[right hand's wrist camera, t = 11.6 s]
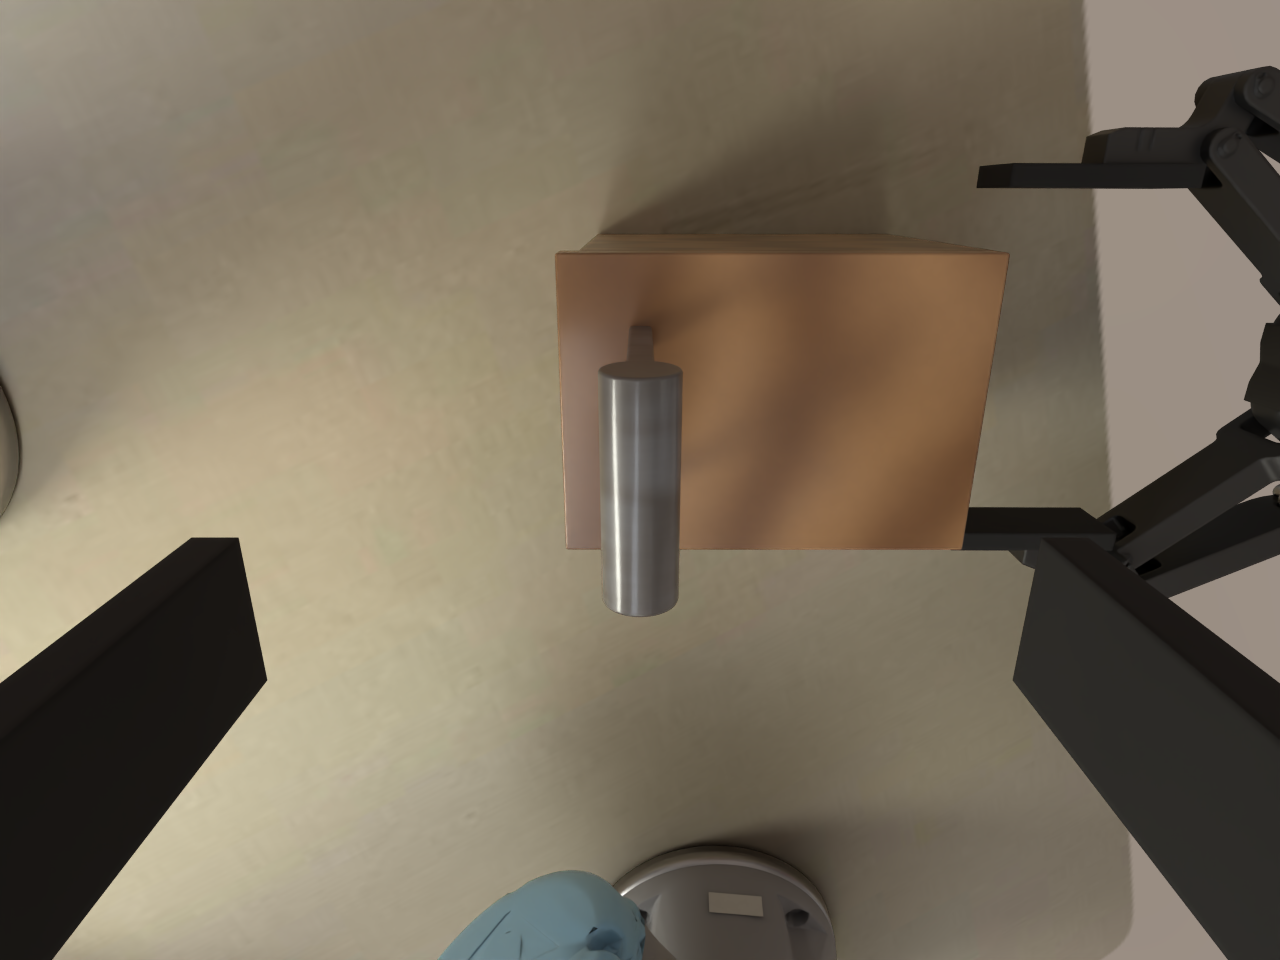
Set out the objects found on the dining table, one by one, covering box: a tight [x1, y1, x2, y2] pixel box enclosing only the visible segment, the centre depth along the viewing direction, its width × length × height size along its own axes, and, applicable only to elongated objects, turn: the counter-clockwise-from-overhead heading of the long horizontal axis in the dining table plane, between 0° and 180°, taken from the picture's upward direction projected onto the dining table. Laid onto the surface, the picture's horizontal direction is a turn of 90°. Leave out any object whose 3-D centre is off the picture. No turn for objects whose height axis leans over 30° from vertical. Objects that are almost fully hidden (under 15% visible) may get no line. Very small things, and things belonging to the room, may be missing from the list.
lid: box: [555, 251, 1010, 617], centre depth 21 cm, size 14×10×9 cm
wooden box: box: [579, 234, 993, 251], centre depth 31 cm, size 13×10×11 cm
